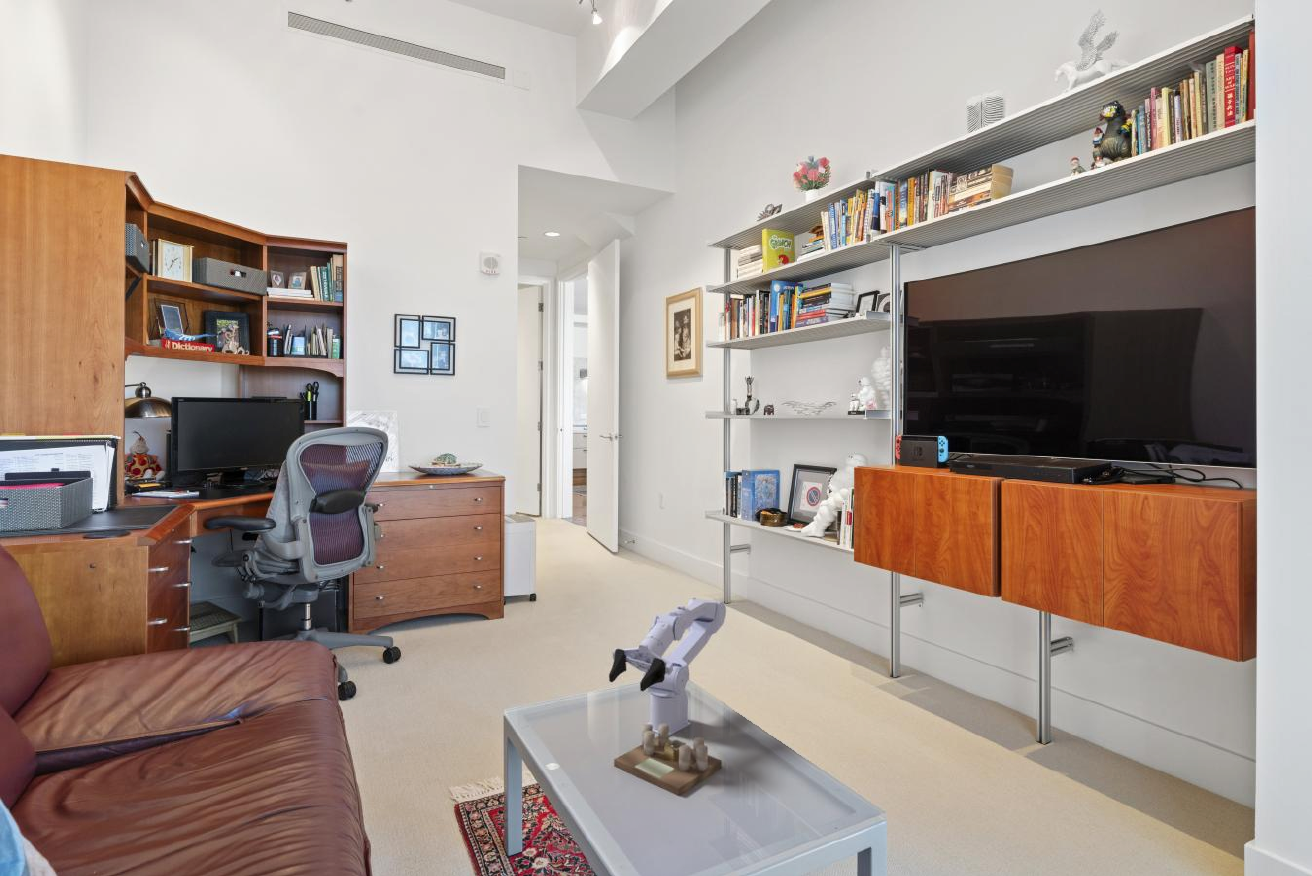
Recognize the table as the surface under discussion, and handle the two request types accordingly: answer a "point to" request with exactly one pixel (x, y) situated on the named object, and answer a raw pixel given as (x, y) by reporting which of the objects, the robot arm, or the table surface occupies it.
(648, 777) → the board
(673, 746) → the nut
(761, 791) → the table surface
